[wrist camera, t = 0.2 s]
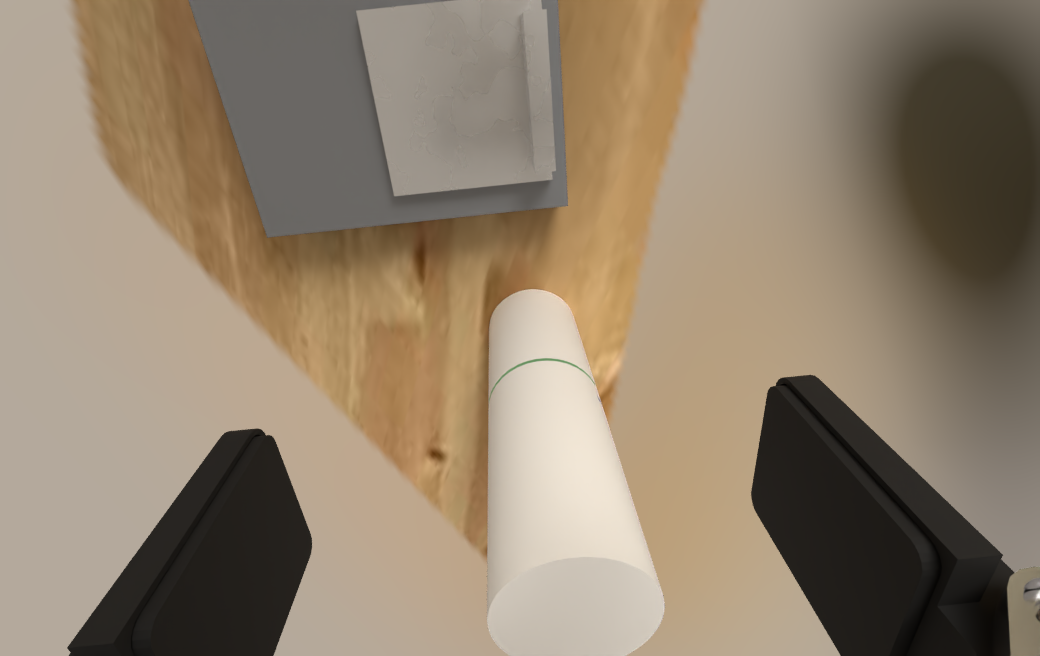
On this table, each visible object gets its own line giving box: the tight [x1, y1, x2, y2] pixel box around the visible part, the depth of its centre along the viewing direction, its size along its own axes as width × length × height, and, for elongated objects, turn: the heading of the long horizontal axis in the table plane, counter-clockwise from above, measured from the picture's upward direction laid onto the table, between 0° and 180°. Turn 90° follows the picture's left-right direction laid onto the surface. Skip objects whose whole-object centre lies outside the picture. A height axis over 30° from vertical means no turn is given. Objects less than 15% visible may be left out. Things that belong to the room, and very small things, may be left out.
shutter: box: [356, 0, 556, 196], centre depth 29 cm, size 10×10×3 cm
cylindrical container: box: [487, 289, 665, 656], centre depth 32 cm, size 7×7×25 cm
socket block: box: [189, 0, 568, 238], centre depth 33 cm, size 14×20×4 cm
